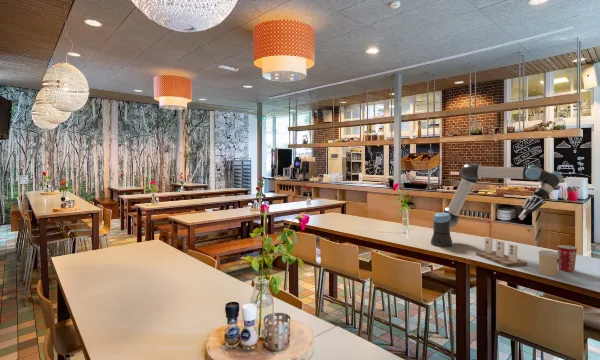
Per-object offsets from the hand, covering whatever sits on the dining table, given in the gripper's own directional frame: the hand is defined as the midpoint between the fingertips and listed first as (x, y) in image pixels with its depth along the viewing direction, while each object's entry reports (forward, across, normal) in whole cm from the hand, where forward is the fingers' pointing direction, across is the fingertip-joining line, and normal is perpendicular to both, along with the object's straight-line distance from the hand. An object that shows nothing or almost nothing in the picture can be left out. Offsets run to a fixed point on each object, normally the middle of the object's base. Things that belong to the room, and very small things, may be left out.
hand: (520, 218), depth 219 cm
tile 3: (+28, -10, -6) cm, 30 cm away
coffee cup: (+24, -28, -13) cm, 39 cm away
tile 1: (+28, +10, -6) cm, 30 cm away
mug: (+14, -26, -23) cm, 37 cm away
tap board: (+28, 0, -8) cm, 30 cm away
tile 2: (+28, 0, -6) cm, 28 cm away
